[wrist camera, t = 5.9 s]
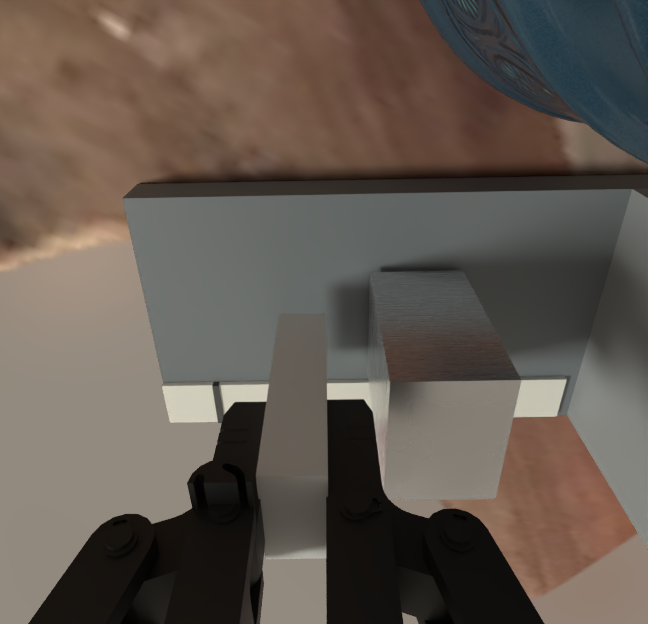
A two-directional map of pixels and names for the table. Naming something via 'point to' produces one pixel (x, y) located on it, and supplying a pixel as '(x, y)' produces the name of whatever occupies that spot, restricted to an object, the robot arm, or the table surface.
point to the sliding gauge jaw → (437, 387)
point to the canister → (559, 58)
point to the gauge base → (403, 256)
